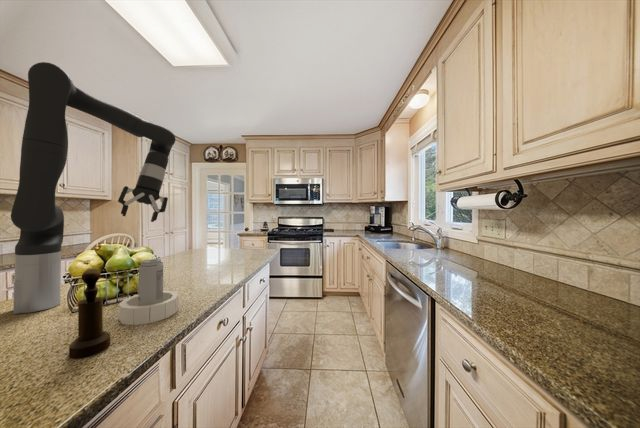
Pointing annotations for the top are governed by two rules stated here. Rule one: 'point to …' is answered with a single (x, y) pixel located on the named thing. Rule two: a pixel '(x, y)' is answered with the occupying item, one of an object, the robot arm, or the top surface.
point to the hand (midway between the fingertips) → (138, 219)
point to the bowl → (147, 309)
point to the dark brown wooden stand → (90, 321)
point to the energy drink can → (150, 282)
